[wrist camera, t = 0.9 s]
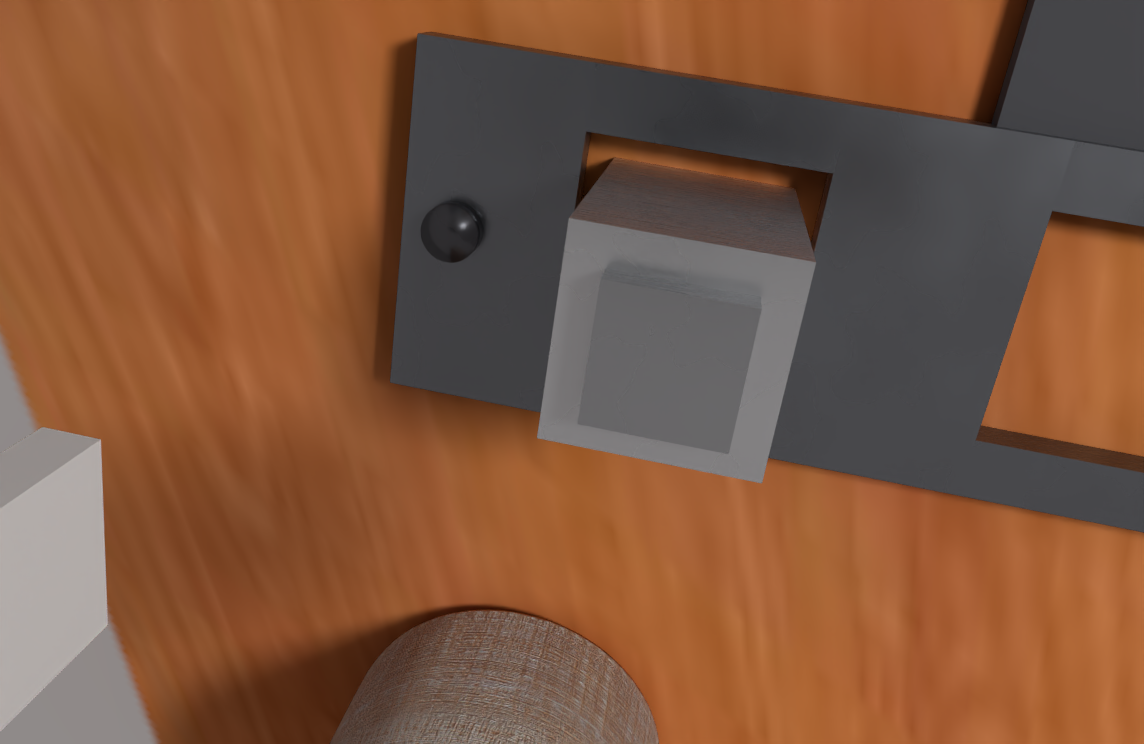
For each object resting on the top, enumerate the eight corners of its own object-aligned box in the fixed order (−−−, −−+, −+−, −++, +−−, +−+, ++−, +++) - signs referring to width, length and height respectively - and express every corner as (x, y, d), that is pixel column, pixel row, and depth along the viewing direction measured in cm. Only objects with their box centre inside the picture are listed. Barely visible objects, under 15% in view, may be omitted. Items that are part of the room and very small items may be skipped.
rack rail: (430, 31, 27) (410, 34, 25) (1528, 211, 24) (1587, 227, 23) (402, 368, 31) (383, 390, 29) (1350, 555, 28) (1388, 590, 26)
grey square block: (614, 156, 27) (562, 226, 19) (795, 188, 27) (818, 273, 19) (588, 325, 29) (529, 453, 21) (756, 357, 29) (762, 500, 21)
